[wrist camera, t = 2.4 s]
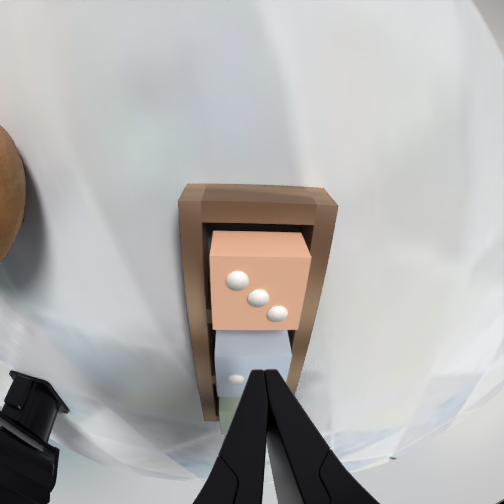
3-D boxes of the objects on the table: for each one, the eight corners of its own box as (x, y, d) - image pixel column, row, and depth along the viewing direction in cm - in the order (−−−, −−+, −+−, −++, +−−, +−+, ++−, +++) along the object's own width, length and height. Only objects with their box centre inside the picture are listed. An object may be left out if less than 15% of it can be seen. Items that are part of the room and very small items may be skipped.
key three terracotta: (291, 300, 15) (298, 331, 13) (215, 300, 15) (212, 331, 13) (301, 232, 13) (312, 259, 11) (213, 230, 13) (209, 257, 11)
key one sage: (270, 410, 21) (273, 434, 19) (221, 411, 21) (221, 435, 19) (276, 385, 19) (279, 412, 17) (219, 385, 19) (218, 412, 17)
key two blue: (279, 368, 18) (283, 397, 16) (218, 369, 18) (217, 398, 16) (286, 327, 16) (292, 358, 14) (216, 327, 16) (214, 358, 14)
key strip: (283, 396, 24) (286, 419, 22) (205, 397, 24) (204, 420, 22) (323, 188, 15) (338, 205, 13) (187, 183, 14) (178, 201, 12)
